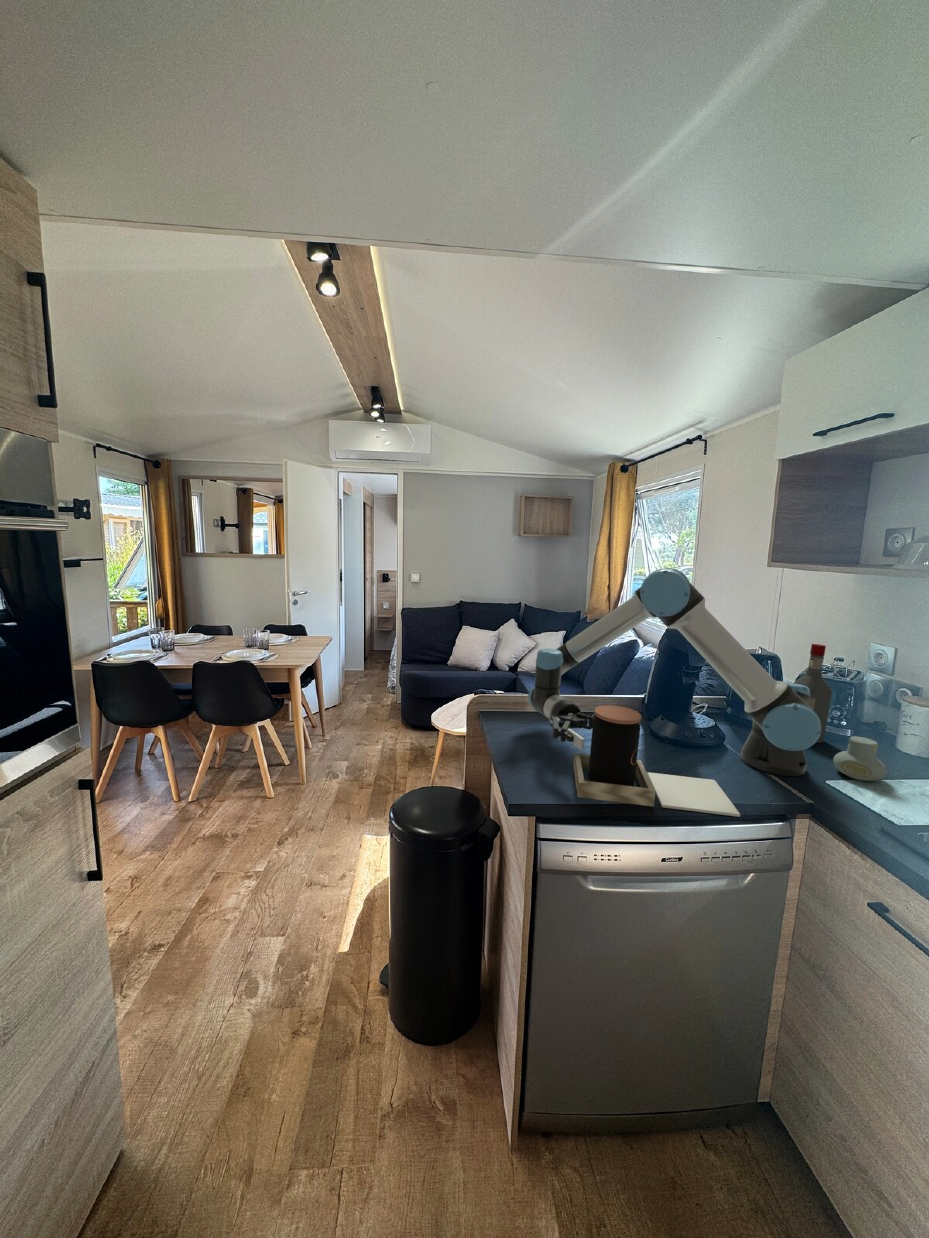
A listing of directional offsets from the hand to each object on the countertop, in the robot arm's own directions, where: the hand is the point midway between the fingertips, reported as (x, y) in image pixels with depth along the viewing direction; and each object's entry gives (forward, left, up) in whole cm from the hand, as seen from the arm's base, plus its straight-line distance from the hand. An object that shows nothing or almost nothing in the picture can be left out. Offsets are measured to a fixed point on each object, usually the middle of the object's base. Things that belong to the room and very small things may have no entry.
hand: (607, 742), depth 117 cm
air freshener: (-67, -20, -10) cm, 71 cm away
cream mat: (-19, +2, -10) cm, 22 cm away
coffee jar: (-1, +2, -10) cm, 10 cm away
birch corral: (-1, +2, -10) cm, 10 cm away
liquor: (-67, -47, -10) cm, 83 cm away
